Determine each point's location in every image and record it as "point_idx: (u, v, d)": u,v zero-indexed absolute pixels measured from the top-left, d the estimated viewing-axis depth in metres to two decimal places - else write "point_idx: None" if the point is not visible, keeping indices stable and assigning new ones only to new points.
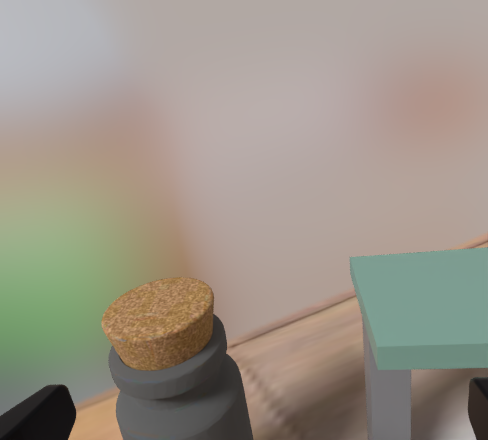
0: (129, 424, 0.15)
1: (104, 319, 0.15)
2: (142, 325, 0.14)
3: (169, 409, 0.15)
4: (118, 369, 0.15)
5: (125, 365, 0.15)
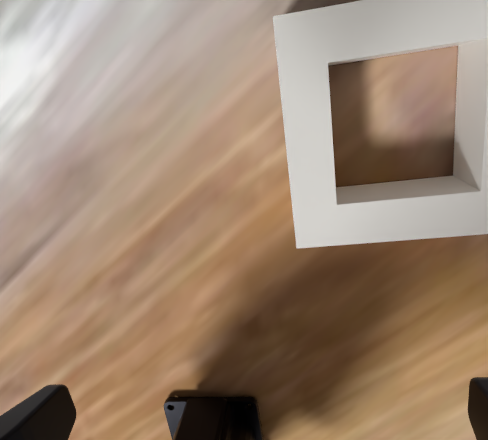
0: None
1: None
2: None
3: None
4: None
5: None
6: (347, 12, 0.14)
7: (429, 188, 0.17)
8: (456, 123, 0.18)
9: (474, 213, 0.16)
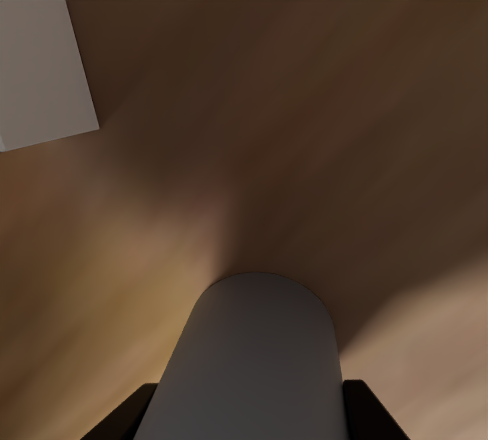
0: None
1: None
2: None
3: None
4: None
5: None
6: None
7: None
8: None
9: None
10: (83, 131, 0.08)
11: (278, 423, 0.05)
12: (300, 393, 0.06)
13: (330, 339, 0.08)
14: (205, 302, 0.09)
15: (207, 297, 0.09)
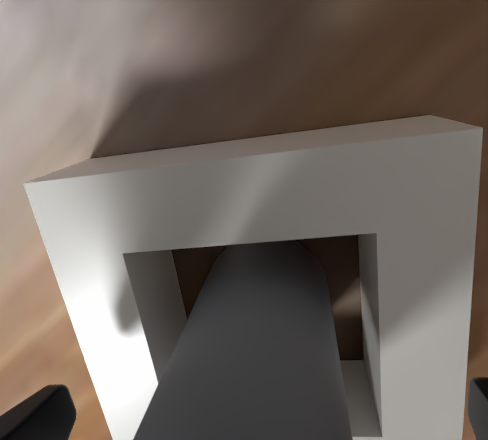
0: None
1: None
2: None
3: None
4: None
5: None
6: (138, 184, 0.08)
7: None
8: (361, 298, 0.12)
9: None
10: None
11: (284, 319, 0.08)
12: (300, 306, 0.08)
13: (323, 282, 0.11)
14: (224, 256, 0.11)
15: (225, 253, 0.11)
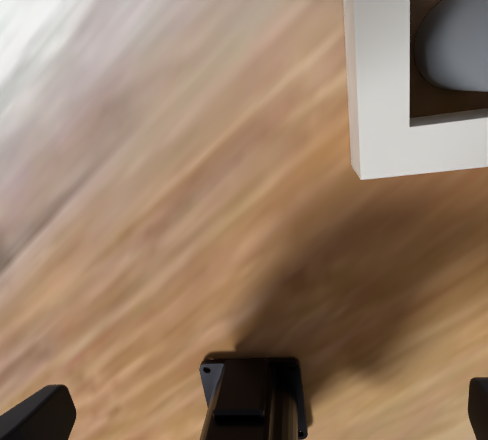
0: None
1: None
2: None
3: None
4: None
5: None
6: None
7: None
8: None
9: None
10: None
11: None
12: None
13: None
14: (444, 0, 0.15)
15: (442, 1, 0.16)
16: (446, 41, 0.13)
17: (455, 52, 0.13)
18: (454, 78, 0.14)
